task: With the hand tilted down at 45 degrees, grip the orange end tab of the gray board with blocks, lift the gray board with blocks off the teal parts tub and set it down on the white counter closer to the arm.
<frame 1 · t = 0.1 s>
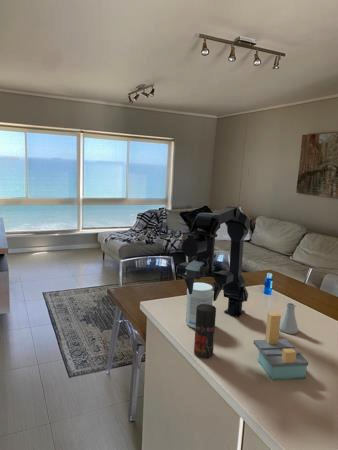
hand: (202, 297, 110), 15 cm above the kitchen island, tool pointing down, fingers open, 9 cm apart
flask: (288, 330, 122), on the kitchen island
gray board with blocks: (271, 344, 102), point 4 cm above the kitchen island, touching tub
deodorant: (203, 354, 103), on the kitchen island
tub: (280, 369, 96), on the kitchen island
supplement tub: (198, 324, 123), on the kitchen island
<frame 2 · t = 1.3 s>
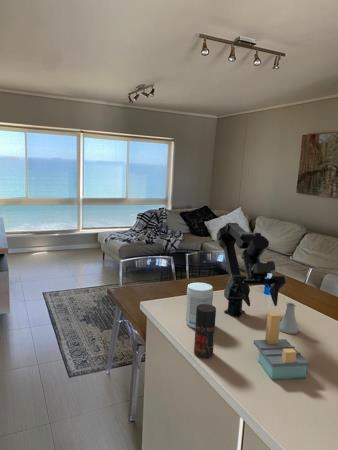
hand: (262, 305, 108), 13 cm above the kitchen island, tool tilted 45°, fingers open, 9 cm apart
nothing on the kitchen island moved.
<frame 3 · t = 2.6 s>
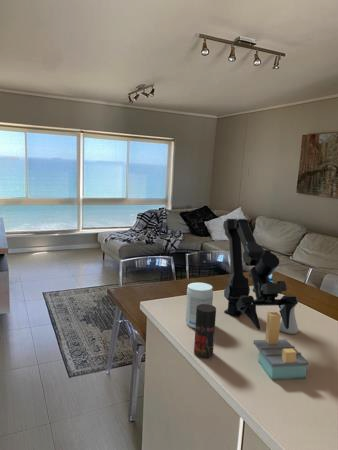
hand: (273, 329, 101), 9 cm above the kitchen island, tool tilted 45°, fingers open, 9 cm apart
nothing on the kitchen island moved.
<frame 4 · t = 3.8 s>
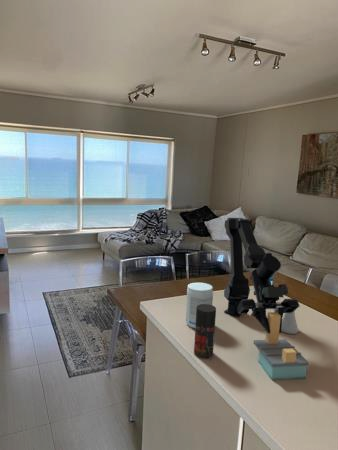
hand: (274, 332, 100), 9 cm above the kitchen island, tool tilted 45°, fingers closed on gray board with blocks, 3 cm apart
gray board with blocks: (271, 344, 102), point 4 cm above the kitchen island, touching gripper, tub
everything else where it was.
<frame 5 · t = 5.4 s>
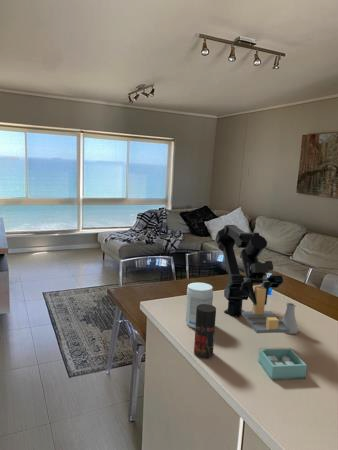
hand: (260, 304, 110), 13 cm above the kitchen island, tool tilted 45°, fingers closed on gray board with blocks, 3 cm apart
gray board with blocks: (257, 315, 113), point 9 cm above the kitchen island, touching gripper
everything else where it was.
when the fingers open (7 cm above the kitchen island, at t = 7.1 s): gray board with blocks drops 3 cm, on the kitchen island.
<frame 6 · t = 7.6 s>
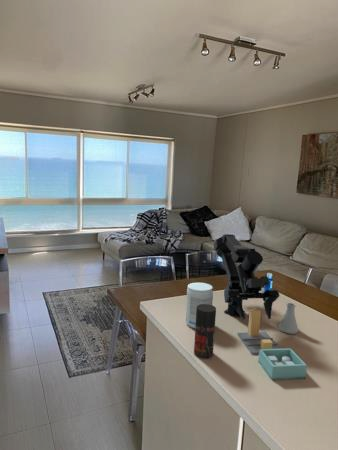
hand: (256, 319, 113), 7 cm above the kitchen island, tool tilted 45°, fingers open, 9 cm apart
gray board with blocks: (253, 336, 116), on the kitchen island
everything else where it was.
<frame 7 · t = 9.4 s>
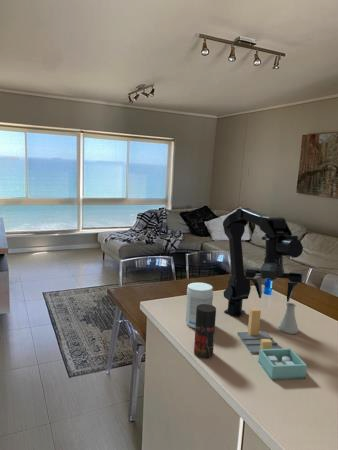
hand: (273, 299, 112), 14 cm above the kitchen island, tool pointing down, fingers open, 9 cm apart
nothing on the kitchen island moved.
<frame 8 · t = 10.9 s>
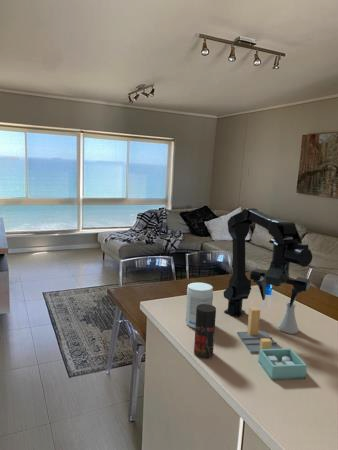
hand: (276, 303, 112), 13 cm above the kitchen island, tool pointing down, fingers open, 9 cm apart
nothing on the kitchen island moved.
at the end: gray board with blocks on the kitchen island; gray board with blocks moved 14.7 cm from its start; gray board with blocks touching kitchen island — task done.
